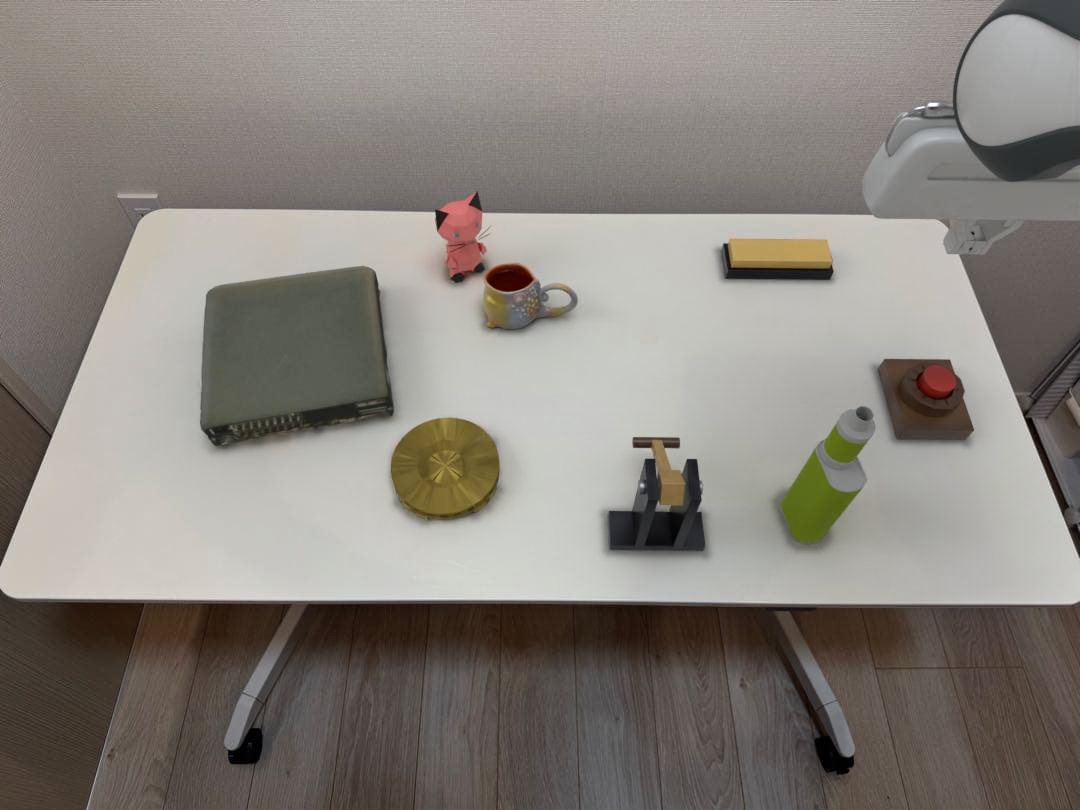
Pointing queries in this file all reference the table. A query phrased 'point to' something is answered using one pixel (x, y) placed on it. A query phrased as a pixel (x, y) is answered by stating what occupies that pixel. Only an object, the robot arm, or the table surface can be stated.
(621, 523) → the switch bracket
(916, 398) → the button block
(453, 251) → the cat figurine
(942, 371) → the button
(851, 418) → the vape
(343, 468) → the table surface
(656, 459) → the switch lever
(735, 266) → the whetstone on a base
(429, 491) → the gold round metal disc
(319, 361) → the network switch
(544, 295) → the mug
